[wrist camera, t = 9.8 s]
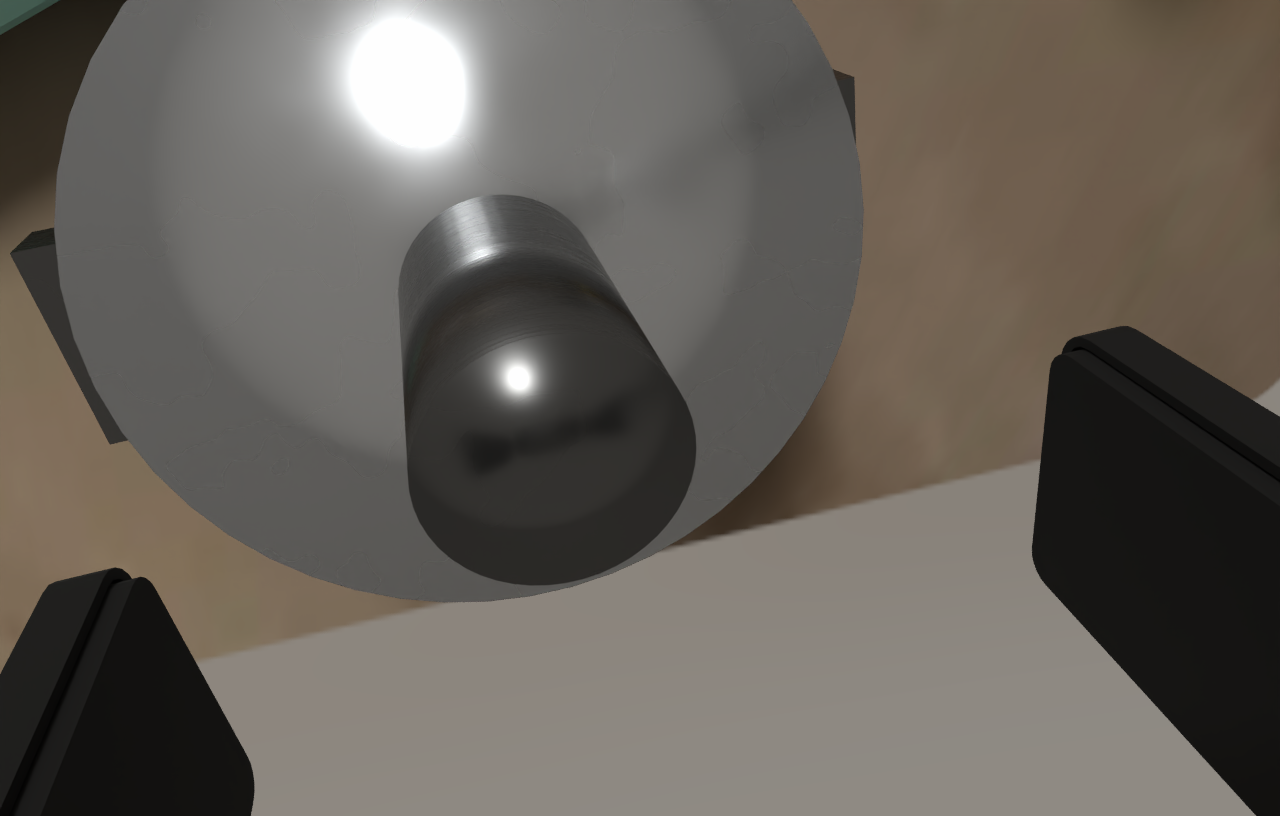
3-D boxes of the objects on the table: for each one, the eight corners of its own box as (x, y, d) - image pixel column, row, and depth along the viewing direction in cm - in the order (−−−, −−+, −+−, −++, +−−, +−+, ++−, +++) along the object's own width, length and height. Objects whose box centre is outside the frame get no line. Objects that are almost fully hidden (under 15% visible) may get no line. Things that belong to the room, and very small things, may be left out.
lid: (827, -226, 15) (1130, -312, 9) (850, 480, 22) (1026, 696, 16) (-109, -77, 13) (-529, -56, 7) (250, 645, 20) (196, 960, 14)
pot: (705, -165, 23) (871, -197, 15) (749, 310, 29) (879, 455, 22) (33, -54, 21) (-168, -26, 13) (243, 433, 27) (191, 641, 20)
